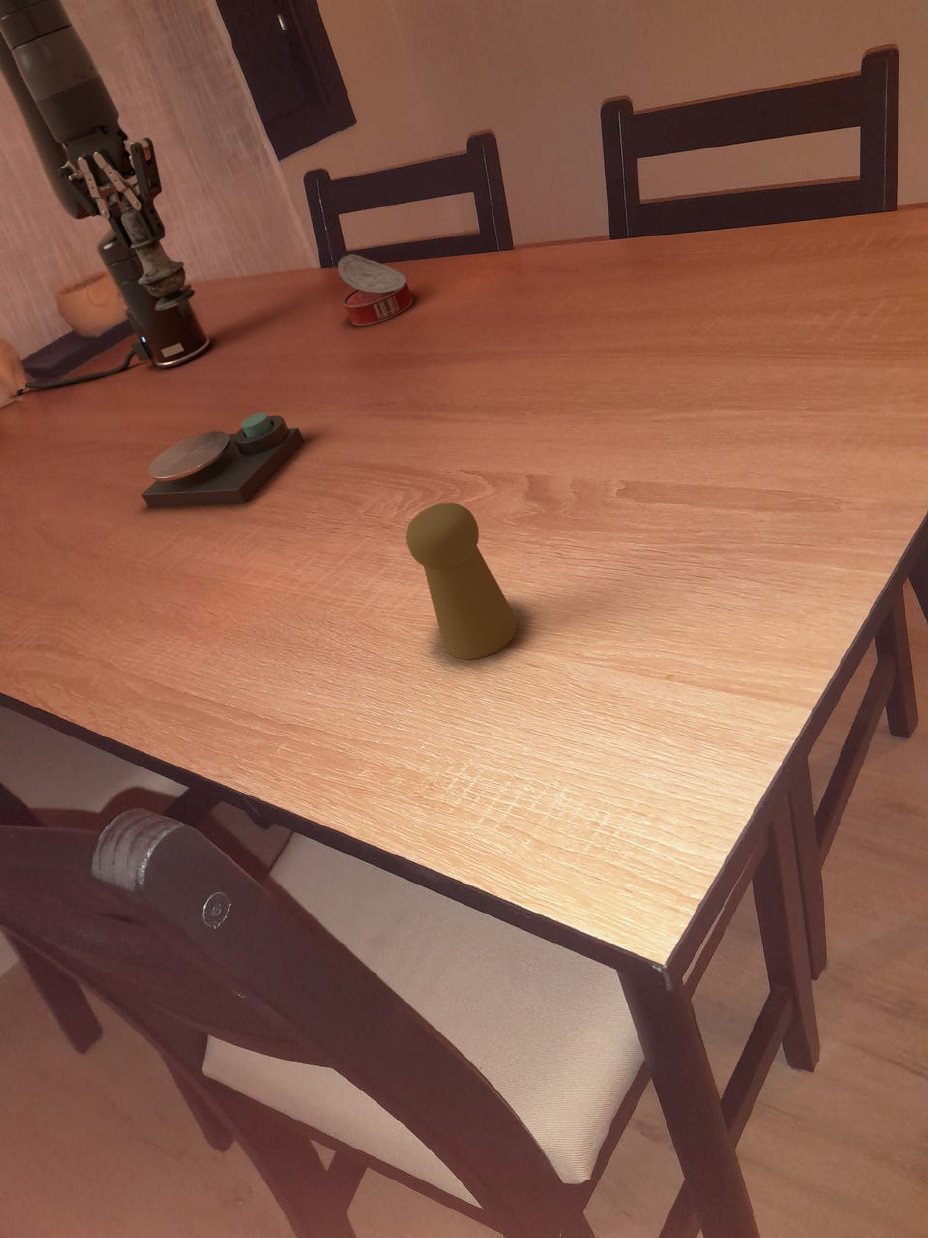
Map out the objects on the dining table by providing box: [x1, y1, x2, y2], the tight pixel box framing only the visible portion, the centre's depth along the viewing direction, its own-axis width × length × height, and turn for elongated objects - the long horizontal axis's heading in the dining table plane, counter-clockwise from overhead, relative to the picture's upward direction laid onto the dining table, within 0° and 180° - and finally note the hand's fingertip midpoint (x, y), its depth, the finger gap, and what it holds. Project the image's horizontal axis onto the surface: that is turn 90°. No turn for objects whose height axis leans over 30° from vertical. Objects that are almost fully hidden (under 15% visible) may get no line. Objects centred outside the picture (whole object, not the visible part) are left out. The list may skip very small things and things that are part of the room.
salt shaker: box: [121, 201, 196, 311], centre depth 112 cm, size 6×6×12 cm
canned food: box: [337, 253, 414, 327], centre depth 141 cm, size 11×10×10 cm
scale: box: [140, 414, 305, 509], centre depth 111 cm, size 15×14×4 cm
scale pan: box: [148, 430, 230, 481], centre depth 110 cm, size 10×10×1 cm
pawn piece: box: [405, 502, 519, 660], centre depth 70 cm, size 6×6×11 cm
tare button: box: [241, 412, 272, 437], centre depth 110 cm, size 3×3×2 cm
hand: (145, 242), depth 111 cm, fingers closed on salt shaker, 3 cm apart
